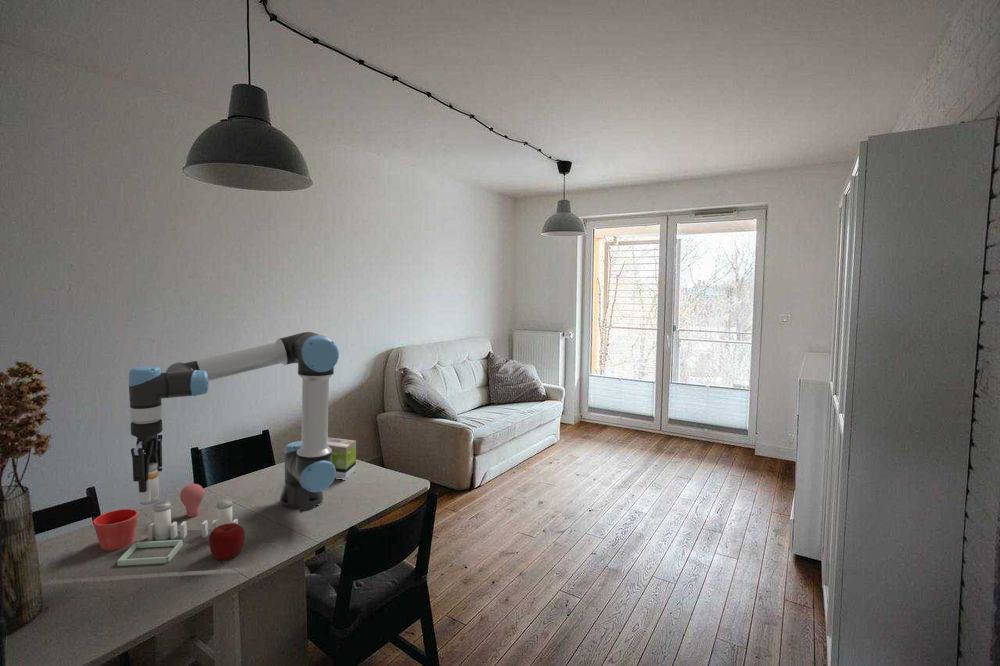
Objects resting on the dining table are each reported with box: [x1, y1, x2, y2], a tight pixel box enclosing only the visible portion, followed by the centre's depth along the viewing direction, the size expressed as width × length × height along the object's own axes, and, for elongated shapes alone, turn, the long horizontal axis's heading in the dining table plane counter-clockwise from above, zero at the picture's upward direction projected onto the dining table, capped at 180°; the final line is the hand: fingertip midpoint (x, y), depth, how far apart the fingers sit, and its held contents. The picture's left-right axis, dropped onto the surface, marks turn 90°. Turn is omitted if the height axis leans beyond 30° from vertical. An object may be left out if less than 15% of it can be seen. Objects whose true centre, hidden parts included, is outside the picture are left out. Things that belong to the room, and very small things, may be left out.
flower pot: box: [92, 508, 139, 551], centre depth 157 cm, size 11×11×10 cm
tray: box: [116, 540, 184, 567], centre depth 152 cm, size 13×10×2 cm
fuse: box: [152, 500, 172, 541], centre depth 161 cm, size 4×4×11 cm
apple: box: [208, 523, 246, 561], centre depth 153 cm, size 10×10×10 cm
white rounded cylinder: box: [215, 498, 234, 527], centre depth 164 cm, size 4×4×11 cm
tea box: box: [327, 436, 357, 478], centre depth 218 cm, size 15×10×15 cm
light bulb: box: [179, 483, 205, 518], centre depth 176 cm, size 7×7×12 cm
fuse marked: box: [139, 462, 159, 506], centre depth 150 cm, size 5×5×11 cm
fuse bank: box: [144, 518, 239, 544], centre depth 163 cm, size 27×8×6 cm, turn 101°
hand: (149, 497), depth 150 cm, fingers closed on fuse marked, 4 cm apart
